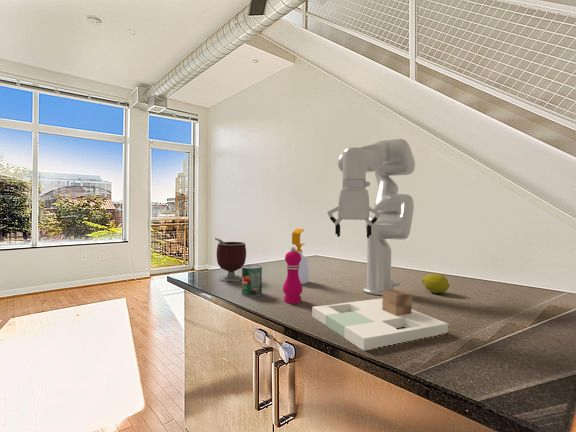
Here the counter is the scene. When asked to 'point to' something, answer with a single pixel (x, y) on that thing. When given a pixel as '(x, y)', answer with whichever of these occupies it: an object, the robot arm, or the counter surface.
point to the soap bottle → (304, 261)
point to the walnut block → (397, 302)
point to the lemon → (436, 283)
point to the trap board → (376, 323)
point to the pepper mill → (292, 278)
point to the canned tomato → (251, 280)
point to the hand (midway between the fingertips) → (353, 237)
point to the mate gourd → (231, 258)
